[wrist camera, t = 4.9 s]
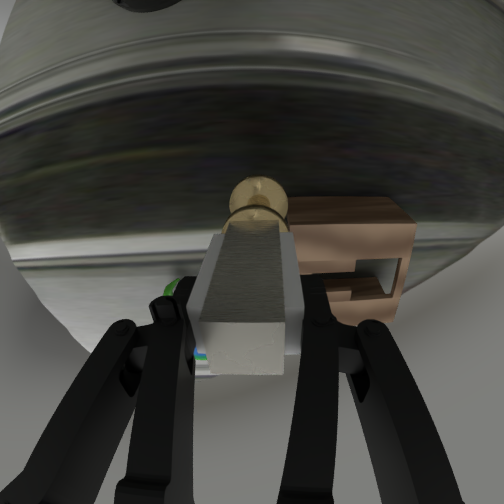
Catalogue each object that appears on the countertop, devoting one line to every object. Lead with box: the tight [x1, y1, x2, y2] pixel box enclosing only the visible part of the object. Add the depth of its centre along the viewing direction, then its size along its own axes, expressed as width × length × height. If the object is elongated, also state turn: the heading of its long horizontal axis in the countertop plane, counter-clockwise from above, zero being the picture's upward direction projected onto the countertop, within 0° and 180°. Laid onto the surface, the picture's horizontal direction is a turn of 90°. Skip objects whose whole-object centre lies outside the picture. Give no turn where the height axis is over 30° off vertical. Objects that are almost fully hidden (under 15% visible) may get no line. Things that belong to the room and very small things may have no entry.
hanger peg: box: [198, 174, 289, 375], centre depth 18 cm, size 5×5×17 cm
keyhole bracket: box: [286, 196, 417, 326], centre depth 39 cm, size 16×16×10 cm
